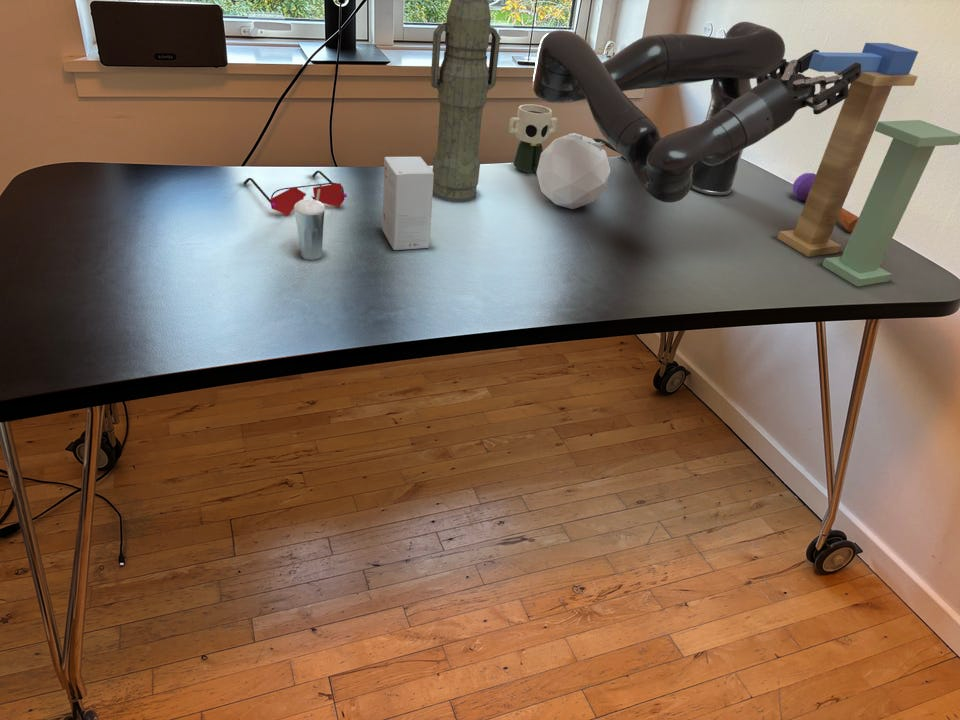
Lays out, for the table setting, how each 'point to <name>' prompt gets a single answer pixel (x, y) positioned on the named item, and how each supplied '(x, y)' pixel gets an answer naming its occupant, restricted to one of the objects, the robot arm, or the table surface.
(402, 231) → the small box
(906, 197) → the green pillar
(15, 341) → the table surface
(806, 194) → the kendama
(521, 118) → the character mug
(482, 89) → the green handled vase
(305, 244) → the milkshake
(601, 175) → the geodesic sphere
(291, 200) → the glasses
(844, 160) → the tall stand
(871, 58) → the peg
